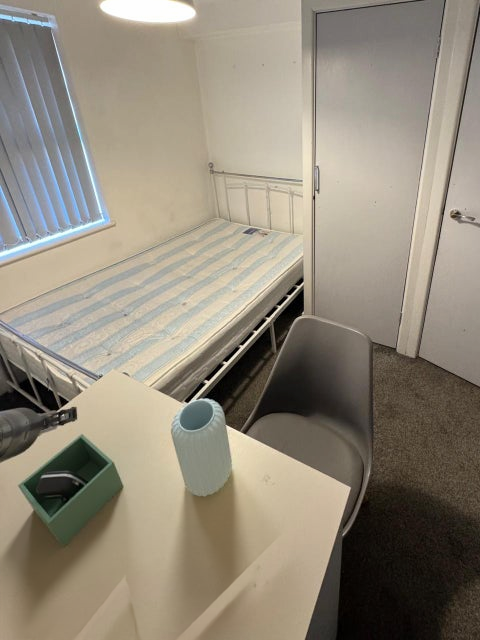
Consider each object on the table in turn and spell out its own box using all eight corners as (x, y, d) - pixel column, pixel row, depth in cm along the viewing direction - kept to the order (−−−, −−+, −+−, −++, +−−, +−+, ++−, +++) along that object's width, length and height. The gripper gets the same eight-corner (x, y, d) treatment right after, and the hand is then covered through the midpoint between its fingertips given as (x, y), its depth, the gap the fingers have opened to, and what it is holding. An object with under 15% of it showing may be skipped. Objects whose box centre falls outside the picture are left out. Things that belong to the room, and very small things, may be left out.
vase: (178, 472, 80) (161, 412, 71) (219, 442, 87) (209, 384, 77) (197, 514, 72) (180, 452, 63) (241, 478, 79) (232, 417, 69)
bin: (33, 509, 73) (17, 485, 69) (92, 457, 84) (82, 433, 80) (63, 547, 67) (48, 523, 63) (123, 486, 77) (113, 462, 73)
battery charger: (58, 507, 73) (28, 493, 66) (67, 487, 76) (39, 471, 69) (88, 505, 73) (61, 491, 66) (96, 485, 76) (71, 469, 69)
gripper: (52, 397, 55) (84, 391, 70) (-56, 427, 50) (2, 415, 65) (54, 445, 53) (86, 429, 67) (-59, 481, 48) (2, 456, 62)
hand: (45, 422), depth 66 cm, fingers open, 8 cm apart
